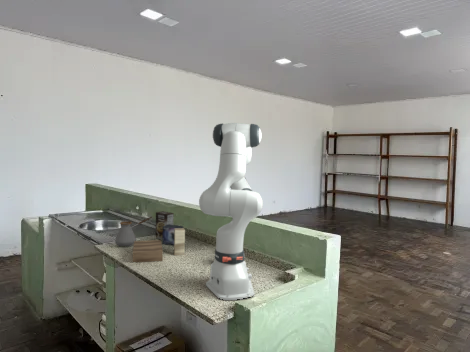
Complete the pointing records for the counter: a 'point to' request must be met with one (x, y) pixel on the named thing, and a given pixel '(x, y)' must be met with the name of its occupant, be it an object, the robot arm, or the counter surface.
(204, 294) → the counter surface
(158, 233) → the coffee box
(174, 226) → the small box
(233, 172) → the robot arm
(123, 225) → the coffee pot
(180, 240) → the birch block
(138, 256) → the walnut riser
